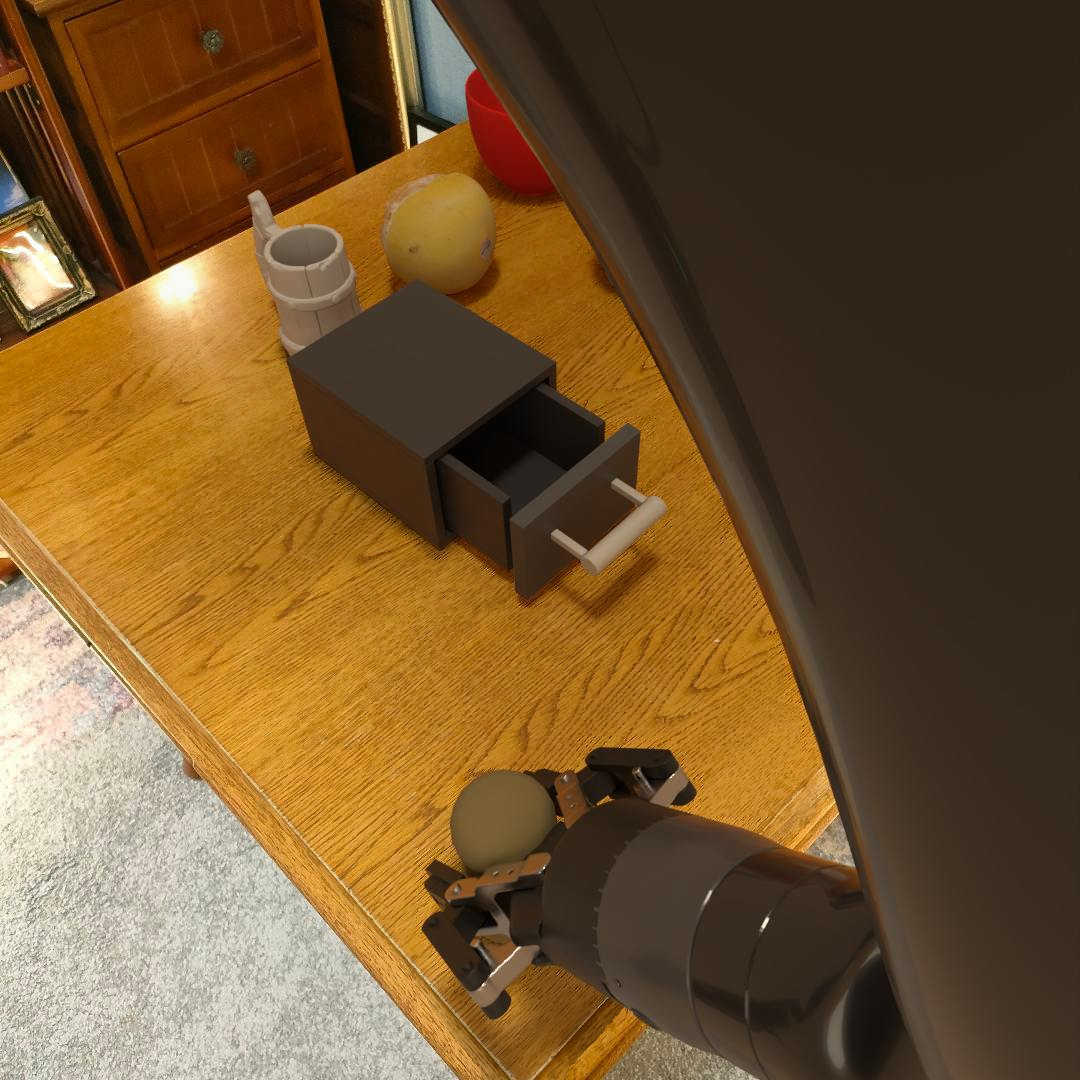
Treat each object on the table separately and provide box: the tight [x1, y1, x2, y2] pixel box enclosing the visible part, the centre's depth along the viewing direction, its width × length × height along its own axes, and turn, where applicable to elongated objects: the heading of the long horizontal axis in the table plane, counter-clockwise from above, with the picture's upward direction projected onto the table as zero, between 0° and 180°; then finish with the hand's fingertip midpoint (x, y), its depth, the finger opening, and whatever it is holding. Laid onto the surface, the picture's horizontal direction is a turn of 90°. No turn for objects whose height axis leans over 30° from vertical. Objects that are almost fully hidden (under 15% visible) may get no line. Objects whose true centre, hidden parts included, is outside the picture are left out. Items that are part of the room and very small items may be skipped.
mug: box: [247, 189, 365, 357], centre depth 80 cm, size 8×12×12 cm, turn 45°
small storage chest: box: [285, 279, 558, 551], centre depth 71 cm, size 15×13×10 cm
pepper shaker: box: [449, 768, 558, 945], centre depth 49 cm, size 6×6×11 cm
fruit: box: [379, 171, 498, 296], centre depth 85 cm, size 10×11×10 cm
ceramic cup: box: [464, 67, 557, 197], centre depth 96 cm, size 13×17×10 cm
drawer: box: [434, 382, 668, 602], centre depth 66 cm, size 18×11×8 cm, turn 47°
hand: (485, 832), depth 50 cm, fingers open, 6 cm apart
